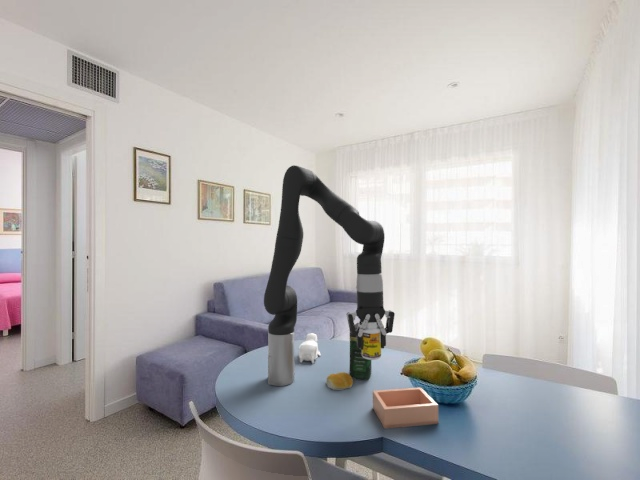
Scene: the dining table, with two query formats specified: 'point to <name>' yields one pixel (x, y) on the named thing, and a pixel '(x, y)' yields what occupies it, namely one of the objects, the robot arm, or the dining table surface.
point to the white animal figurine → (309, 348)
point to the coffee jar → (358, 360)
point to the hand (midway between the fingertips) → (371, 348)
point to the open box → (405, 407)
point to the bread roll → (339, 381)
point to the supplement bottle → (371, 341)
